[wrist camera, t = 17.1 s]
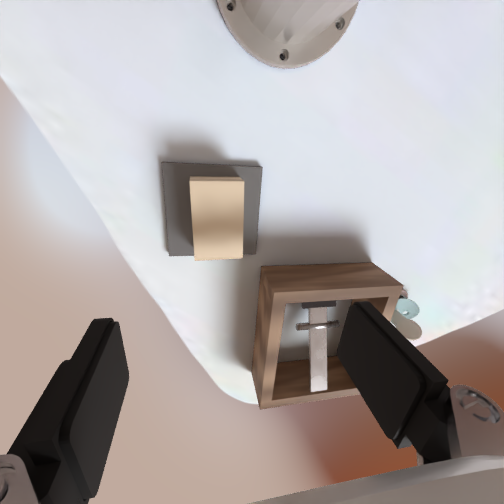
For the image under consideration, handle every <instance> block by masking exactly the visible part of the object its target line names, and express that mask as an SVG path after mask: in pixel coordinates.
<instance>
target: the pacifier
mask: <svg viewBox="0 0 504 504" xmlns="http://www.w3.org/2000/svg"><path fill="white" fill-rule="evenodd" d="M400 295H401V298H399V299H398V302H397V305H396V307H395V310H394V313H393V315H392V318H391V322H392V323H393V324H394V325H395V326H396V328H397V330H398V331H399V332H400V333H401V334H402V335H403V336H404V337H405V338H406V339H407V340H411V341H414V340H418V339H419V338H420V337H421V335H422V330H421V328H420V326H419V325H418V324H417V323H416V322H414V321H412V320H410V319H411V318H413V317H415V316H416V315H418V313H419V307H418V305H417V304H416V303H415V302H414V301H412V300H410V299H407V298H408V294H407V292H406V291H405V290H402V291H401V294H400ZM404 311H408V313H407V314H402V313H403V312H404Z"/></svg>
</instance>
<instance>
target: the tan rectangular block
mask: <svg viewBox="0 0 504 504" xmlns="http://www.w3.org/2000/svg"><path fill="white" fill-rule="evenodd" d="M189 182H190V197H191V212H192V227H193V242H194V257H195V261H201V260H220V259H238V258H243V221H244V181H243V180H242V179H241V178H240V177H211V176H190V181H189Z"/></svg>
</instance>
